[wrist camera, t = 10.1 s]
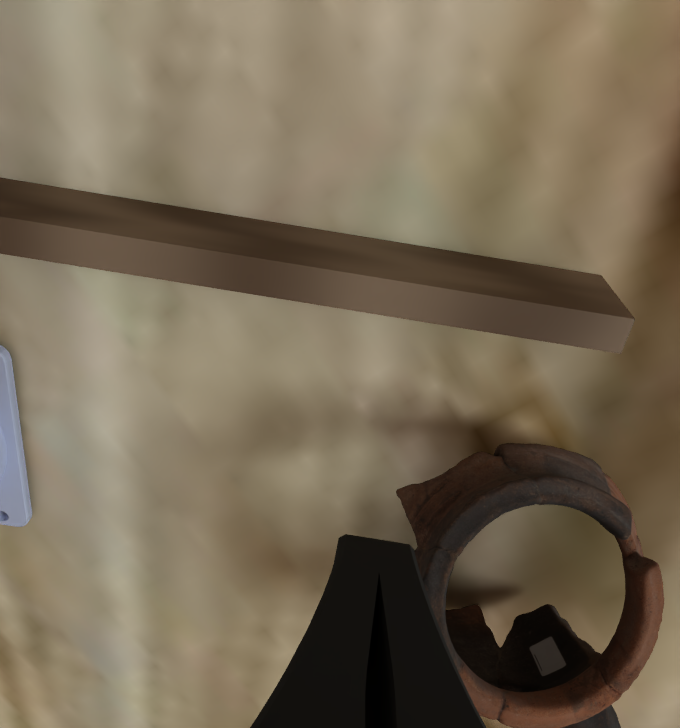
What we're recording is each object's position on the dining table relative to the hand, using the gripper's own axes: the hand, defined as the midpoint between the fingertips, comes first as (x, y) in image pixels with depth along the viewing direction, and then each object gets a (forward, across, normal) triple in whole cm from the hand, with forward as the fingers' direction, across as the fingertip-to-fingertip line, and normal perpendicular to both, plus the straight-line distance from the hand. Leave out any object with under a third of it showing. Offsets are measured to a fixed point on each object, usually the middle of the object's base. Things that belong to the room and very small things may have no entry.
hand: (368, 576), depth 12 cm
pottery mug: (+10, -6, +8) cm, 14 cm away
